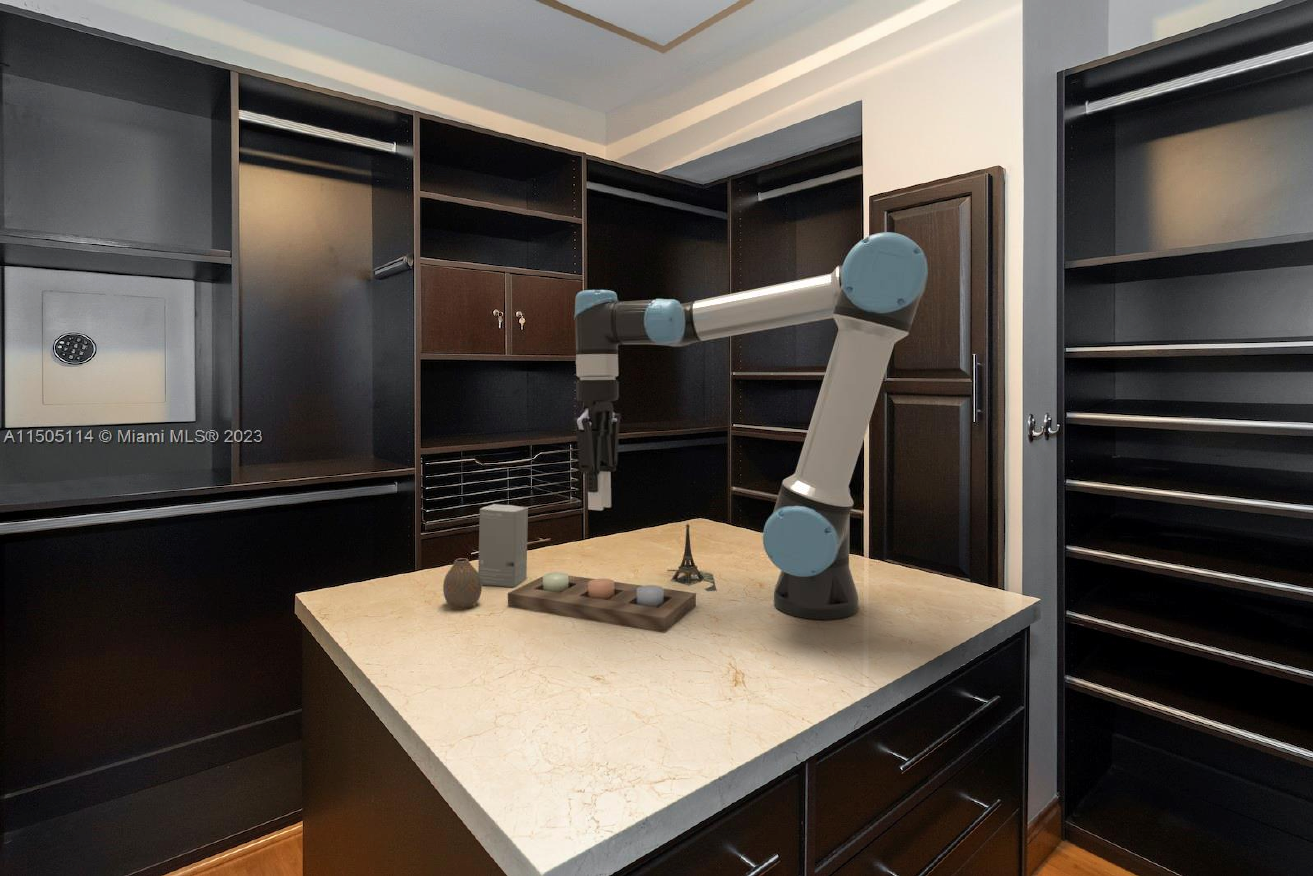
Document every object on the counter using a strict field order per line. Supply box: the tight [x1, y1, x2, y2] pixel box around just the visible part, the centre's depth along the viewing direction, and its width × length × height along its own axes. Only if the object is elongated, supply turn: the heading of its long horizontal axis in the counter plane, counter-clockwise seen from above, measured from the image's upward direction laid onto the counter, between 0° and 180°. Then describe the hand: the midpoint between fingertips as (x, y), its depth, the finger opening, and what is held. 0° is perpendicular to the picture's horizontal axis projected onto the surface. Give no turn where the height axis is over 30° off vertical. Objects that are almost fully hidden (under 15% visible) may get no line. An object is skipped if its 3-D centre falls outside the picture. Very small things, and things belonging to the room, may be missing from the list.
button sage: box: [542, 571, 569, 593], centre depth 132 cm, size 5×5×3 cm
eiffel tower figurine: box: [666, 523, 717, 592], centre depth 143 cm, size 15×10×13 cm
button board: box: [507, 574, 697, 633], centre depth 128 cm, size 32×14×2 cm, turn 65°
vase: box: [442, 557, 483, 610], centre depth 129 cm, size 7×7×9 cm
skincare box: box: [477, 503, 529, 588], centre depth 143 cm, size 8×7×16 cm
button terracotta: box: [588, 578, 615, 600], centre depth 128 cm, size 5×5×3 cm
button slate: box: [637, 584, 664, 608], centre depth 124 cm, size 5×5×3 cm
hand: (599, 507), depth 127 cm, fingers open, 2 cm apart
